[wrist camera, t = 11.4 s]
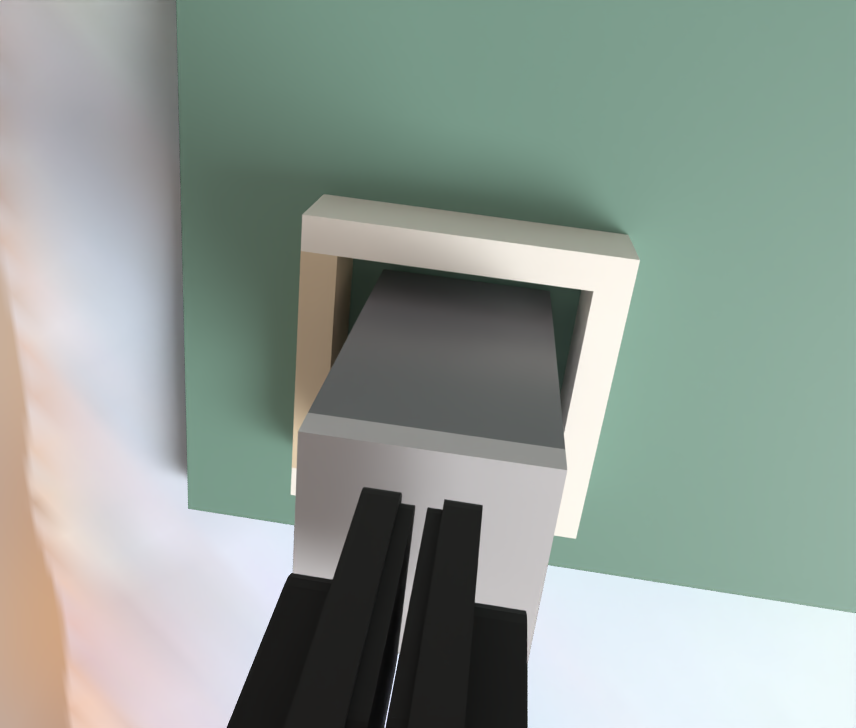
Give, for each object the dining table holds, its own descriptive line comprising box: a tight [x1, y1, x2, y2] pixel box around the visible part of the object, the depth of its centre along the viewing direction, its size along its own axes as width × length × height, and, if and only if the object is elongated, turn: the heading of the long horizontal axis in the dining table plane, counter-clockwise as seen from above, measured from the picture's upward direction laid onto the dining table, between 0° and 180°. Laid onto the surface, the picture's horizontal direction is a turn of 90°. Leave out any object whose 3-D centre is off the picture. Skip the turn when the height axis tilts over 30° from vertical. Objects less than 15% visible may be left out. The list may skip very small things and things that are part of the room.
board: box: [176, 0, 856, 613], centre depth 18 cm, size 16×20×3 cm
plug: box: [293, 269, 567, 663], centre depth 16 cm, size 4×4×8 cm
